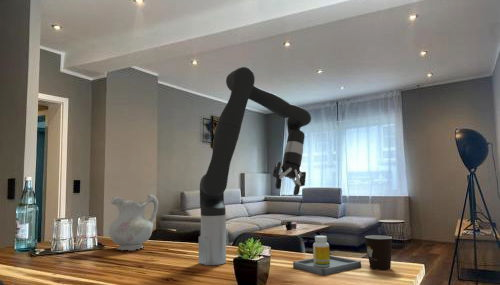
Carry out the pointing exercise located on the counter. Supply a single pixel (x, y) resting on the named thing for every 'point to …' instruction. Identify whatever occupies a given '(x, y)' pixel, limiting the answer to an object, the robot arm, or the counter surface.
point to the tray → (335, 266)
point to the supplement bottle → (321, 252)
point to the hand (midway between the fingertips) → (286, 191)
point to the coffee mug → (379, 251)
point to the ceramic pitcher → (132, 223)
